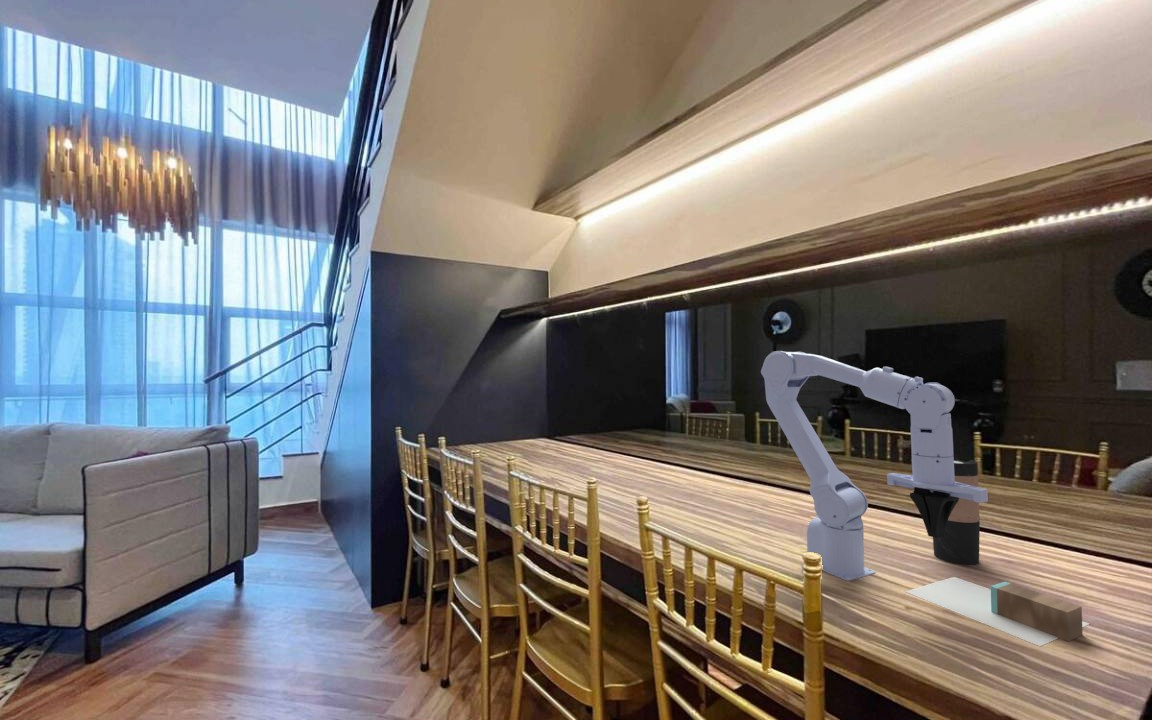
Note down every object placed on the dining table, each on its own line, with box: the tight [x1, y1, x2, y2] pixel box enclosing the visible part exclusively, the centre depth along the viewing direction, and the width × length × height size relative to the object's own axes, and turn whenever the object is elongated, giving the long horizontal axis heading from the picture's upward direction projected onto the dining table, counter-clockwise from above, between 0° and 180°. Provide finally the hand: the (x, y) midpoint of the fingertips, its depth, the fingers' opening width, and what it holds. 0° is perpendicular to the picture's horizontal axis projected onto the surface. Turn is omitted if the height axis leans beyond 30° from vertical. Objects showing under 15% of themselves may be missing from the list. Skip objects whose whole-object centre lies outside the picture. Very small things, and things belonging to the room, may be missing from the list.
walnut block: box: [990, 581, 1084, 642], centre depth 72 cm, size 4×4×9 cm
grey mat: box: [904, 576, 1090, 647], centre depth 77 cm, size 18×14×1 cm
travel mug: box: [932, 457, 981, 566], centre depth 97 cm, size 8×8×20 cm
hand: (935, 536), depth 81 cm, fingers closed
